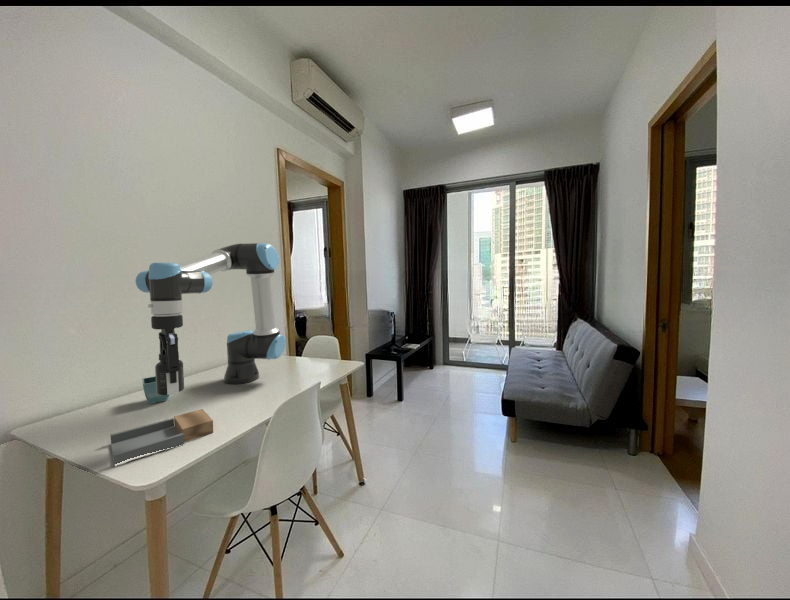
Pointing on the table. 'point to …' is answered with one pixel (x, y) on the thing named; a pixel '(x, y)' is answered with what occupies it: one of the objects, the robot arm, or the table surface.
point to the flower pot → (152, 391)
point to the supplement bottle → (161, 376)
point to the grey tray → (145, 440)
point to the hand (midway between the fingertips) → (170, 389)
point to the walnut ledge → (193, 424)
